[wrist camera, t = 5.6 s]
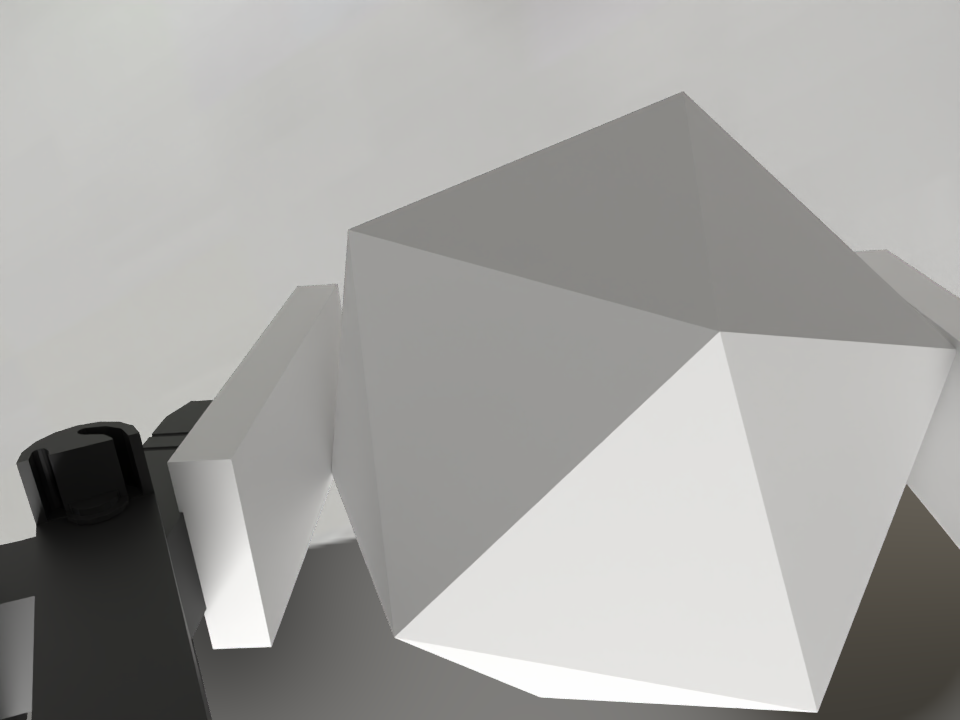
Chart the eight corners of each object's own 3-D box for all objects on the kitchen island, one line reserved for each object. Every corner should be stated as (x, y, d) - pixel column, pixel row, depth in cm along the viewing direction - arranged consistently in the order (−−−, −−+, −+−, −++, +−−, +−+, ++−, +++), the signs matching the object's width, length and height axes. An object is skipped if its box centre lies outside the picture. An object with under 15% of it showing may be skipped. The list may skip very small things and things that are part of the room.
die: (325, 447, 18) (535, 927, 13) (161, 113, 12) (451, 819, 6) (652, 297, 20) (971, 667, 14) (674, -76, 13) (1299, 343, 7)
